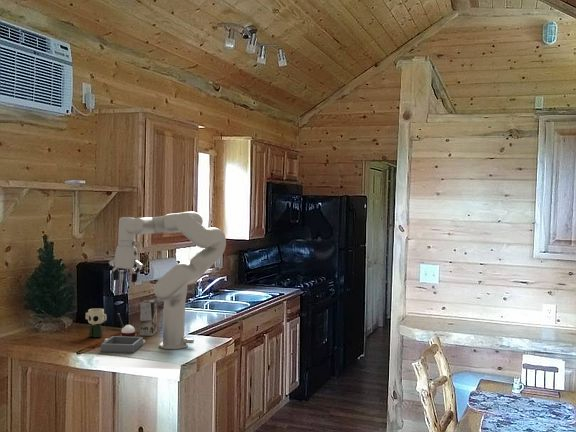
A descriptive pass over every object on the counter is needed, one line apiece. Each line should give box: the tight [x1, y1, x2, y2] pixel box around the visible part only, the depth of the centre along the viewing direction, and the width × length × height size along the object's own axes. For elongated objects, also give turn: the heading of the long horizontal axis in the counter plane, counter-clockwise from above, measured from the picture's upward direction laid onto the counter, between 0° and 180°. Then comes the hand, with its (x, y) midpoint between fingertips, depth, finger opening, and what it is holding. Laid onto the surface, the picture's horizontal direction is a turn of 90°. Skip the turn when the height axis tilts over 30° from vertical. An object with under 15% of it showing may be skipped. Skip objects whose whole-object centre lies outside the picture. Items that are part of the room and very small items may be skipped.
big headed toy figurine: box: [85, 308, 107, 338], centre depth 290 cm, size 11×7×13 cm, turn 76°
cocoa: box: [117, 312, 139, 337], centre depth 288 cm, size 10×6×12 cm, turn 71°
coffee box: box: [139, 299, 158, 337], centre depth 300 cm, size 9×6×16 cm
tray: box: [100, 335, 144, 354], centre depth 271 cm, size 14×15×4 cm
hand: (125, 280), depth 284 cm, fingers open, 9 cm apart
